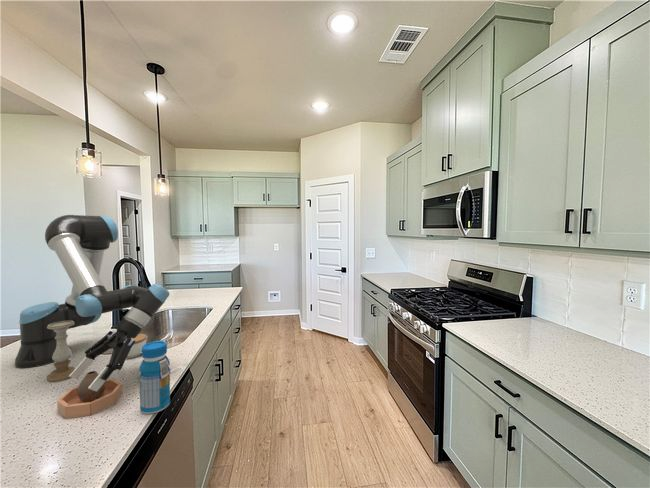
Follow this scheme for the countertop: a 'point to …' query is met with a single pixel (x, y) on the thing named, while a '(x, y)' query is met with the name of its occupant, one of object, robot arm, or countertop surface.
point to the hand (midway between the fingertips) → (82, 383)
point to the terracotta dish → (75, 407)
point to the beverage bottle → (154, 378)
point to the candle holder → (61, 352)
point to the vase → (85, 392)
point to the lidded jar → (137, 345)
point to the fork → (181, 366)
